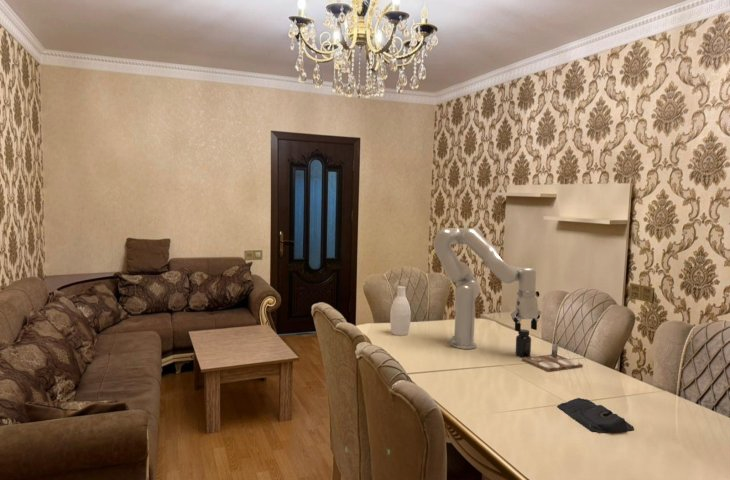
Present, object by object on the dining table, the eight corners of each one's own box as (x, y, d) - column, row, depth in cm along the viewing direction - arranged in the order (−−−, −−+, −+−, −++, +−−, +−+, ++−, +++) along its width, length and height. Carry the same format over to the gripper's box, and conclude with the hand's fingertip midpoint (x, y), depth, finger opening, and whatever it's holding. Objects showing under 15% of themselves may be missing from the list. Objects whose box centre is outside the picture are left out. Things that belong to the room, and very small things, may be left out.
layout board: (548, 371, 204) (549, 355, 204) (521, 360, 219) (522, 344, 218) (582, 367, 212) (583, 351, 212) (554, 356, 227) (555, 341, 227)
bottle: (408, 337, 252) (410, 289, 251) (387, 335, 255) (389, 287, 253) (411, 332, 263) (413, 286, 262) (391, 330, 266) (392, 284, 264)
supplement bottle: (528, 353, 230) (529, 329, 229) (532, 358, 223) (533, 332, 222) (513, 352, 231) (515, 328, 230) (516, 357, 224) (518, 331, 223)
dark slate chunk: (591, 405, 171) (592, 391, 171) (638, 433, 150) (639, 418, 150) (553, 407, 168) (553, 393, 168) (595, 436, 147) (596, 421, 146)
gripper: (517, 296, 218) (516, 333, 219) (546, 294, 225) (545, 330, 226) (506, 293, 225) (505, 330, 226) (535, 291, 232) (534, 326, 233)
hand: (525, 330), depth 226 cm, fingers open, 9 cm apart
